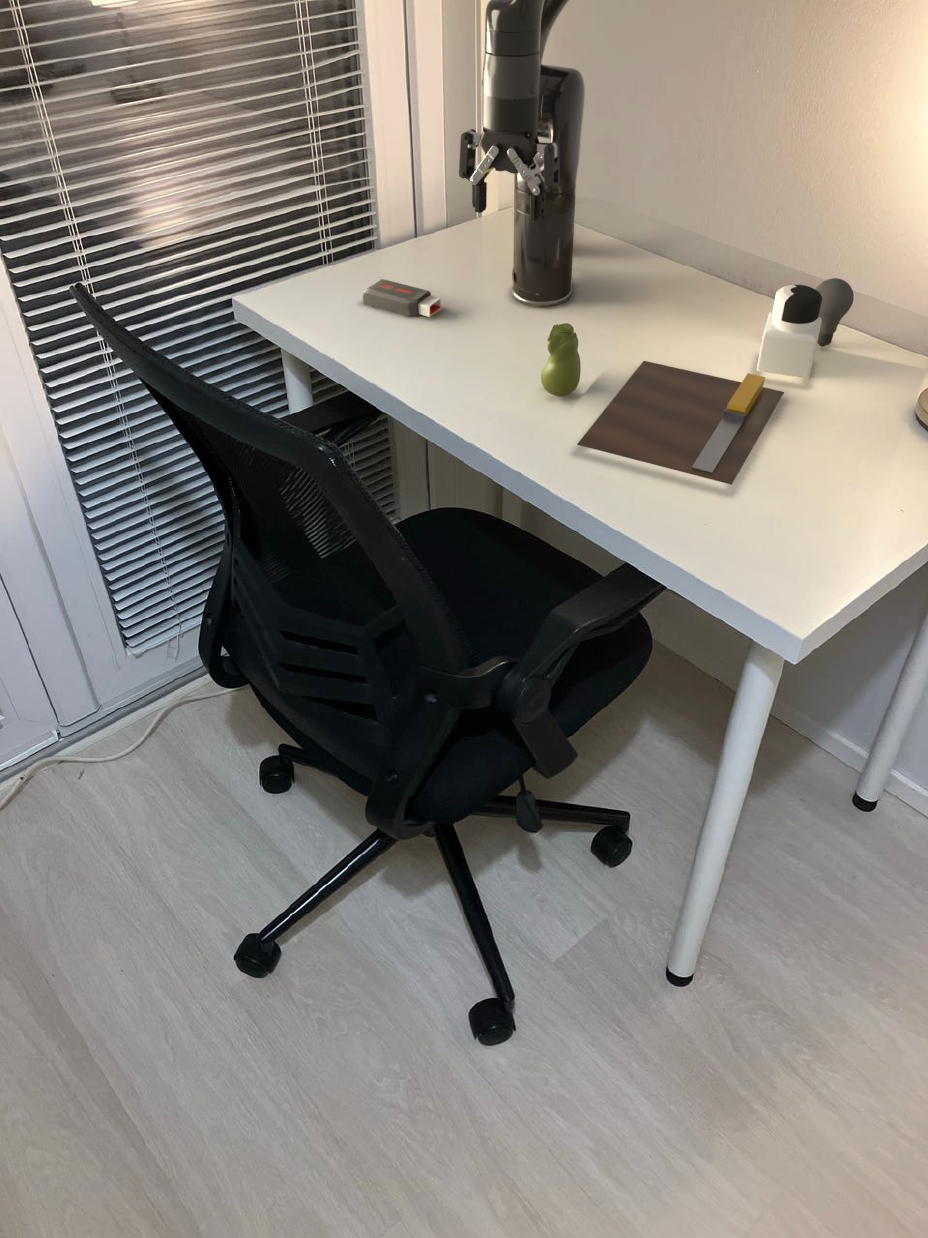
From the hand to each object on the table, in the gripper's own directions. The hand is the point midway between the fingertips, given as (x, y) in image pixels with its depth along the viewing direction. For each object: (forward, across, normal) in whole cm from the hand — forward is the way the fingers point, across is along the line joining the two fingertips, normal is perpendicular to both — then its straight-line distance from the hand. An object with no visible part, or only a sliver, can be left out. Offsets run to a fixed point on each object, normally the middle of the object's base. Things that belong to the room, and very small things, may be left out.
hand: (507, 215), depth 147 cm
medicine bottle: (+17, -41, -7) cm, 45 cm away
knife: (+17, -39, +13) cm, 44 cm away
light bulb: (+17, -44, -17) cm, 50 cm away
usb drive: (+17, +18, -1) cm, 25 cm away
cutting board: (+18, -33, +13) cm, 40 cm away
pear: (+18, -15, +12) cm, 27 cm away
